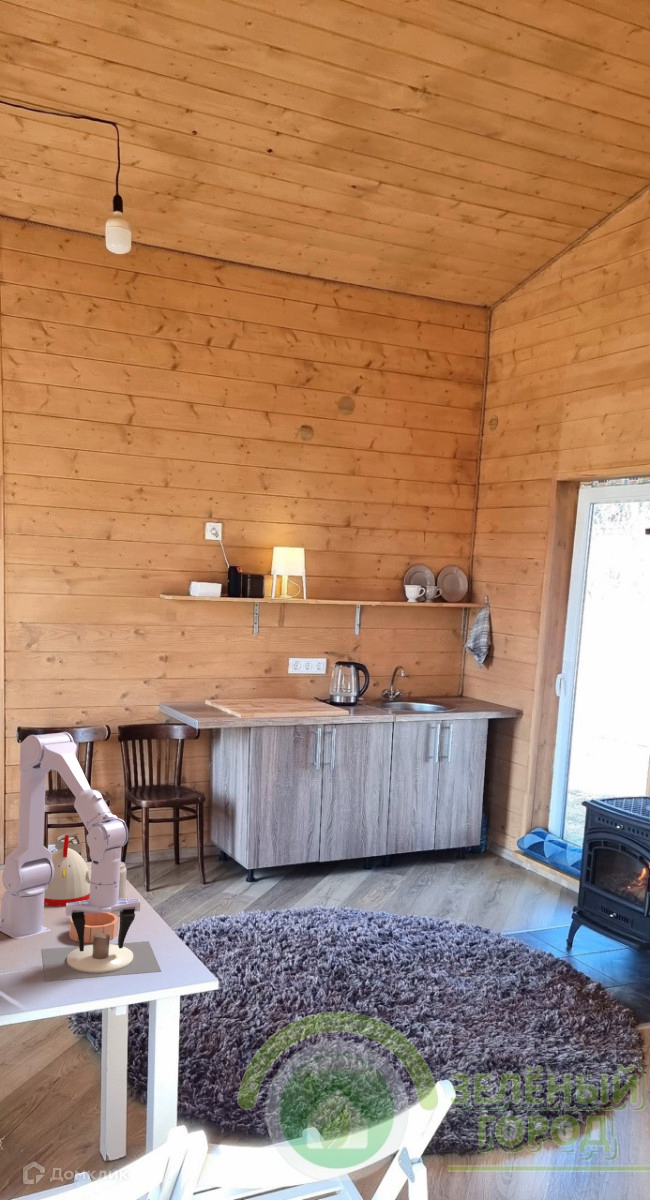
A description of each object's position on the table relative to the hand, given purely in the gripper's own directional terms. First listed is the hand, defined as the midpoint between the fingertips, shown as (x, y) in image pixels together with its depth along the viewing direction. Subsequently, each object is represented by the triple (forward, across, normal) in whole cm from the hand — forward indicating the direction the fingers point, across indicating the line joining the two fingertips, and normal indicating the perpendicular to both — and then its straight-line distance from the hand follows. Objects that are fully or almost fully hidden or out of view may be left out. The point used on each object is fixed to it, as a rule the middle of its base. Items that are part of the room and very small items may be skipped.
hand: (100, 948), depth 180 cm
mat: (+3, 0, 0) cm, 3 cm away
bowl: (+3, 0, +14) cm, 15 cm away
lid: (+2, 0, 0) cm, 2 cm away
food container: (+3, -3, +58) cm, 58 cm away
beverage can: (+3, +5, +27) cm, 28 cm away
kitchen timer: (+3, -5, +42) cm, 43 cm away
